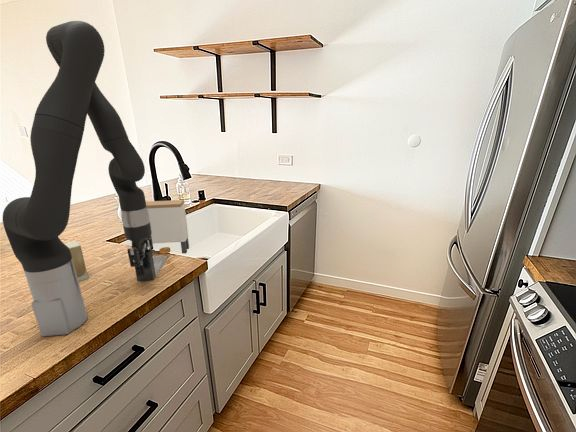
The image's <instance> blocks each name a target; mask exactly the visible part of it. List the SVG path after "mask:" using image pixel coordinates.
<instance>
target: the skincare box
mask: <svg viewBox="0 0 576 432" xmlns="http://www.w3.org/2000/svg"><path fill="white" fill-rule="evenodd" d="M63 243H64V244H65V245H66V246H67V247H68V248H69V249H70V252H71V255H72V259H73V263H74V267H75V271H76V274H77V278H78V282H79V283H80V282H82V281H85V280H88V279H89V274H88V271H87V267H86V262H85V259H84V255H83V250H82V246H81V244H80V243H79V241H78V240H77V239H76V240H72V241H69V242H63Z"/></svg>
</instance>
